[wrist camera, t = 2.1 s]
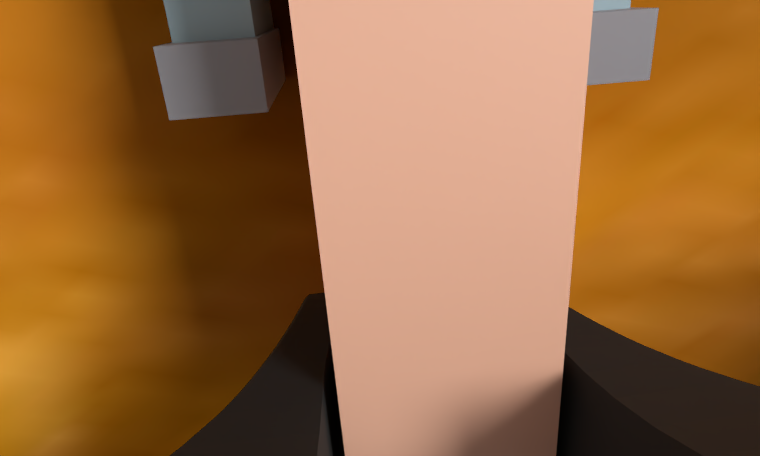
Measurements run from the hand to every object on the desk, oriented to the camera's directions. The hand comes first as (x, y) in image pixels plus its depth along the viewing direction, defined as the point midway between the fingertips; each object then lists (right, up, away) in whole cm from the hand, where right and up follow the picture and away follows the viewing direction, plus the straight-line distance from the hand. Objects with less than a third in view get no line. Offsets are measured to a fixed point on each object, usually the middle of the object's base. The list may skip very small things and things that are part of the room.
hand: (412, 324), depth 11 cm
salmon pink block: (0, +4, 0) cm, 4 cm away
